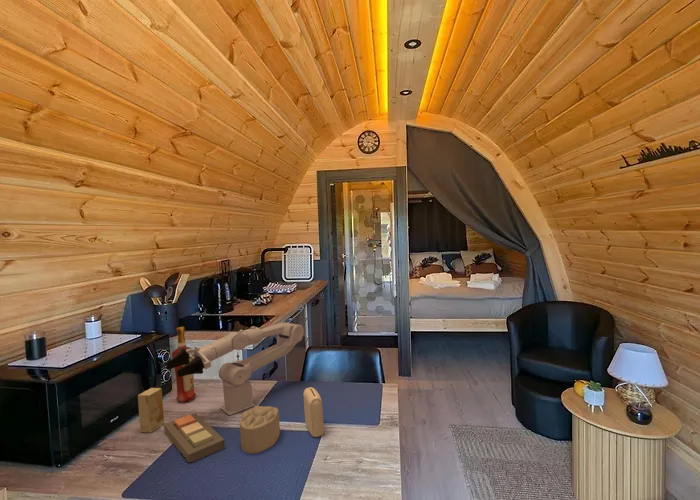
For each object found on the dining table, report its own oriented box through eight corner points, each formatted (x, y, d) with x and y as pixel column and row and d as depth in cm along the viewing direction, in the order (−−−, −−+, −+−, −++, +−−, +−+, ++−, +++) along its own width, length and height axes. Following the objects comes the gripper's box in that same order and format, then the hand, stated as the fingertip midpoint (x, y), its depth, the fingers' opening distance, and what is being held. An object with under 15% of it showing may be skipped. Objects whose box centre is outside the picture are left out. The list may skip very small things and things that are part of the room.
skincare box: (151, 433, 118) (148, 395, 118) (139, 432, 119) (136, 395, 119) (165, 423, 125) (162, 387, 124) (154, 422, 126) (151, 387, 125)
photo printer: (303, 423, 119) (301, 385, 118) (316, 420, 120) (314, 382, 120) (311, 439, 109) (309, 398, 109) (325, 435, 111) (323, 395, 110)
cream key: (198, 428, 116) (197, 421, 116) (203, 433, 113) (203, 427, 113) (181, 434, 113) (181, 428, 113) (186, 440, 109) (186, 434, 109)
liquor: (184, 395, 147) (178, 325, 145) (200, 395, 145) (194, 325, 144) (171, 403, 140) (165, 330, 138) (188, 404, 138) (182, 330, 137)
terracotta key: (190, 420, 122) (190, 414, 122) (196, 425, 118) (195, 419, 118) (174, 426, 118) (174, 420, 118) (179, 432, 115) (179, 425, 115)
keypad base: (196, 420, 125) (195, 412, 125) (224, 448, 107) (224, 439, 107) (164, 431, 119) (163, 424, 119) (189, 463, 101) (188, 454, 101)
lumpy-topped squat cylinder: (283, 429, 116) (281, 402, 116) (268, 454, 103) (266, 423, 103) (251, 429, 117) (249, 402, 117) (233, 453, 104) (231, 423, 104)
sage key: (206, 436, 111) (205, 429, 111) (212, 442, 107) (212, 435, 107) (189, 443, 108) (188, 436, 108) (194, 450, 104) (194, 443, 104)
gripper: (199, 335, 130) (160, 352, 120) (221, 346, 121) (180, 365, 111) (203, 353, 132) (164, 371, 122) (224, 366, 122) (184, 386, 112)
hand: (172, 370), depth 116 cm, fingers open, 7 cm apart
